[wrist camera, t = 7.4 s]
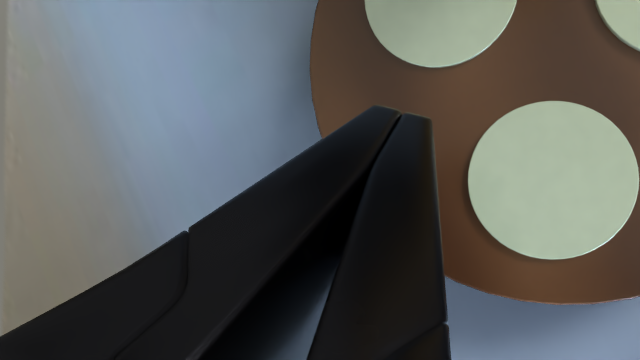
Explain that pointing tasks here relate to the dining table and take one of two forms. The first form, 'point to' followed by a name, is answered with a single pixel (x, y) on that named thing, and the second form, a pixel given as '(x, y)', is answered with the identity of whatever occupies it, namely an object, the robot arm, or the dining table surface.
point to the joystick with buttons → (507, 130)
